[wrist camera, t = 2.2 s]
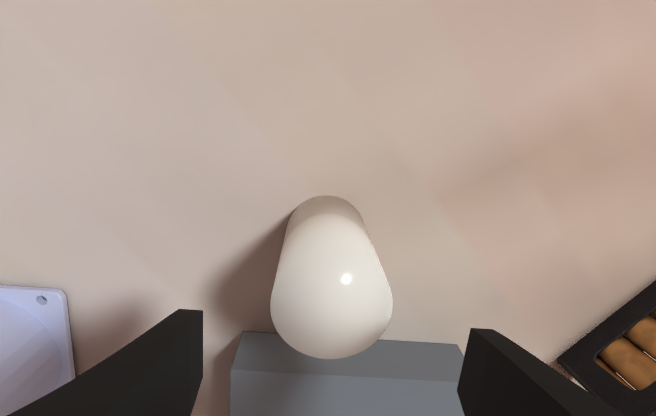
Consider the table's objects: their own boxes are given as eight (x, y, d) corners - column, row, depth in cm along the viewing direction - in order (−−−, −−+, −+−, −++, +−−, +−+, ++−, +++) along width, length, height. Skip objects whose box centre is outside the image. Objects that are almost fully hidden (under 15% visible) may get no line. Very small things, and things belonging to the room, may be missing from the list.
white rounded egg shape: (284, 266, 19) (267, 355, 12) (289, 192, 18) (273, 245, 11) (360, 272, 19) (384, 362, 13) (369, 199, 18) (401, 255, 12)
